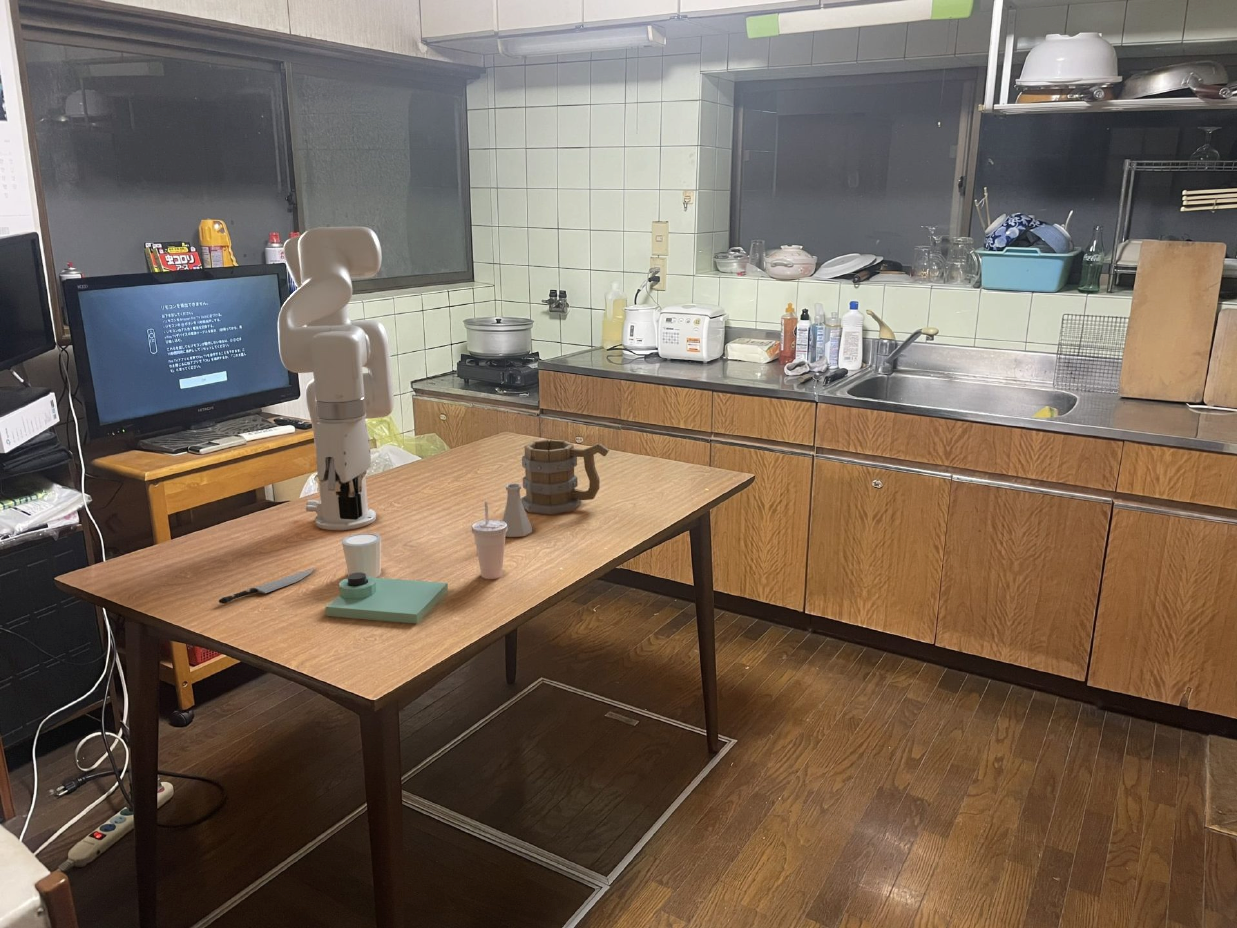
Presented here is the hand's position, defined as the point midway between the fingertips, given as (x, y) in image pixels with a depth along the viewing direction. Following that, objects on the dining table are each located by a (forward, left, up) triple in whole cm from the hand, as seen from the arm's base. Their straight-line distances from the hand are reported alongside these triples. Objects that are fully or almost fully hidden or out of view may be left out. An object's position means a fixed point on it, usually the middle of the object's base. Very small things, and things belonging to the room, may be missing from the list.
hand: (351, 517), depth 151 cm
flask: (+15, +38, -15) cm, 44 cm away
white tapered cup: (-5, +11, -15) cm, 19 cm away
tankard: (+21, +56, -15) cm, 62 cm away
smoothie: (+18, +15, -15) cm, 28 cm away
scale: (+5, 0, -15) cm, 16 cm away
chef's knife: (-18, +2, -15) cm, 23 cm away
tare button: (0, 0, -12) cm, 12 cm away
